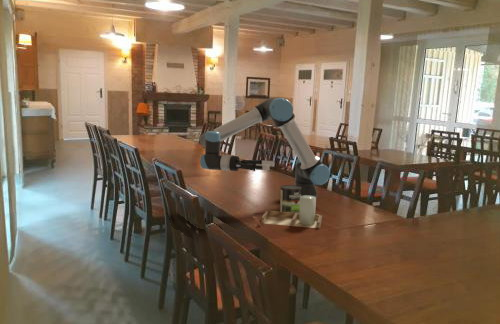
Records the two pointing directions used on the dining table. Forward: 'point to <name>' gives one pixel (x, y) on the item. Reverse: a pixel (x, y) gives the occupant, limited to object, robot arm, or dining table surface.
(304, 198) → the sage jar
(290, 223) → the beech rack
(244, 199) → the dining table surface
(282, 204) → the coffee can
